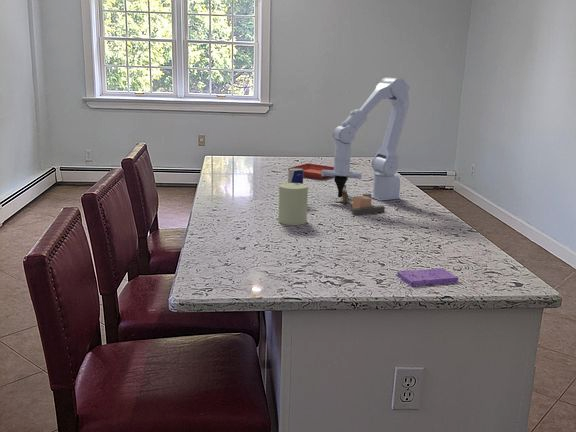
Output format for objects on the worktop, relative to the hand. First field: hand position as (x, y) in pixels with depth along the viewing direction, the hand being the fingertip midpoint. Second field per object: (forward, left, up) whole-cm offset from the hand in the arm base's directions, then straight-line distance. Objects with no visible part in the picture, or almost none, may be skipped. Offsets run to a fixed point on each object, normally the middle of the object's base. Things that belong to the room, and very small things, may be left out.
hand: (340, 196), depth 221 cm
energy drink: (+16, -4, -2) cm, 17 cm away
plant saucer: (-17, -48, -2) cm, 51 cm away
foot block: (0, +15, -2) cm, 15 cm away
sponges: (+24, +77, -2) cm, 81 cm away
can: (+29, +19, -2) cm, 35 cm away
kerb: (0, +19, -2) cm, 19 cm away
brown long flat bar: (-2, 0, -1) cm, 2 cm away
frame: (-6, +1, -1) cm, 6 cm away
